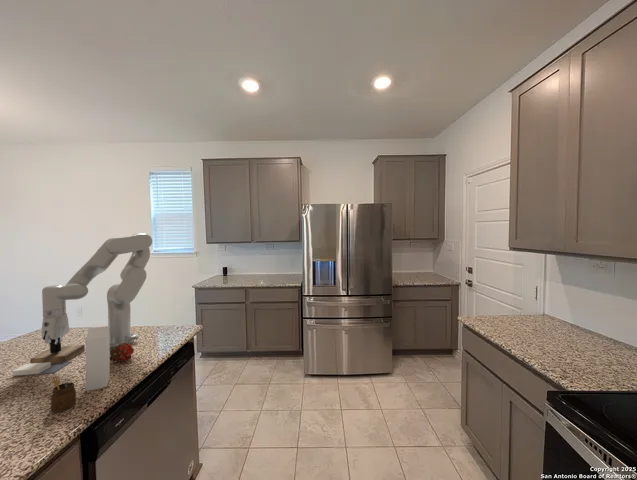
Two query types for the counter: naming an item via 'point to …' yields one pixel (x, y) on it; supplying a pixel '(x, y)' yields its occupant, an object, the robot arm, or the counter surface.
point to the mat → (53, 368)
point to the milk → (97, 358)
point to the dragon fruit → (121, 353)
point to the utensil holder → (62, 395)
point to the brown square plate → (58, 355)
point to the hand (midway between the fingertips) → (55, 352)
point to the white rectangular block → (31, 368)
